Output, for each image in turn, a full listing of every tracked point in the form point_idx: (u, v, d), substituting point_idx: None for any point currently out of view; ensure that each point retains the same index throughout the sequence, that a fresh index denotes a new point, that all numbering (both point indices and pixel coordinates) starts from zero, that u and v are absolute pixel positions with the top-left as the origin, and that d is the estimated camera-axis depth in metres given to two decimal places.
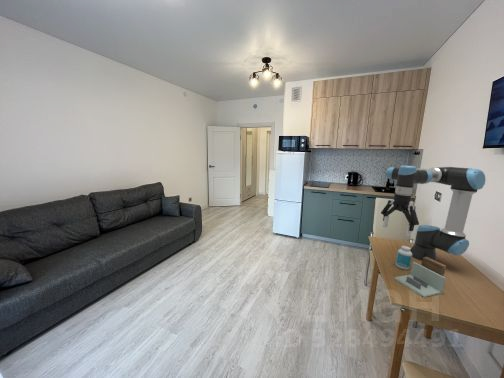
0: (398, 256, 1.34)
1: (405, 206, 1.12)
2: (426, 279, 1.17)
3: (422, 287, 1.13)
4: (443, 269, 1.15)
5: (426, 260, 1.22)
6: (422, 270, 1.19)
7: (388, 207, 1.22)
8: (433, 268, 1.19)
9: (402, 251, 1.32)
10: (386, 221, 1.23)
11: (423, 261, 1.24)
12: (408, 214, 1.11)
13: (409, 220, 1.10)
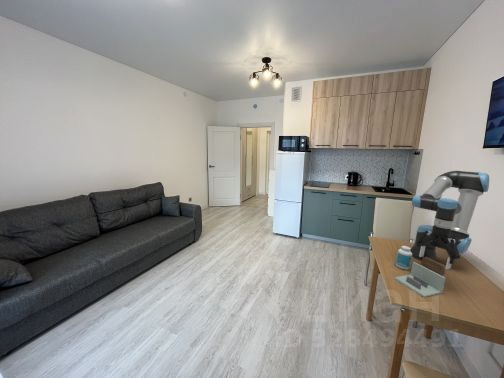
0: (398, 256, 1.34)
1: (445, 239, 1.14)
2: (426, 279, 1.17)
3: (422, 287, 1.13)
4: (443, 269, 1.15)
5: (426, 260, 1.22)
6: (422, 270, 1.19)
7: (425, 237, 1.24)
8: (433, 268, 1.19)
9: (402, 251, 1.32)
10: (422, 251, 1.25)
11: (423, 261, 1.24)
12: (448, 247, 1.13)
13: (450, 253, 1.11)
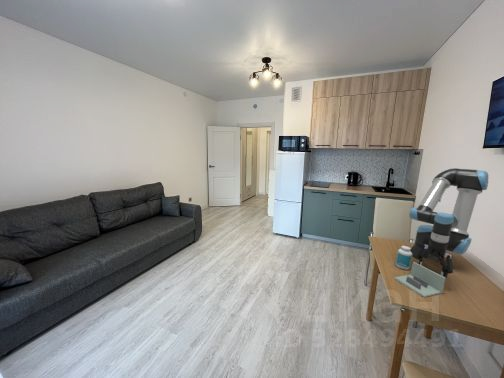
0: (398, 256, 1.34)
1: (442, 253, 1.15)
2: (426, 279, 1.17)
3: (422, 287, 1.13)
4: None
5: (426, 260, 1.22)
6: (422, 270, 1.19)
7: (423, 251, 1.25)
8: (433, 268, 1.19)
9: (402, 251, 1.32)
10: None
11: (423, 261, 1.24)
12: (443, 261, 1.15)
13: (443, 268, 1.14)
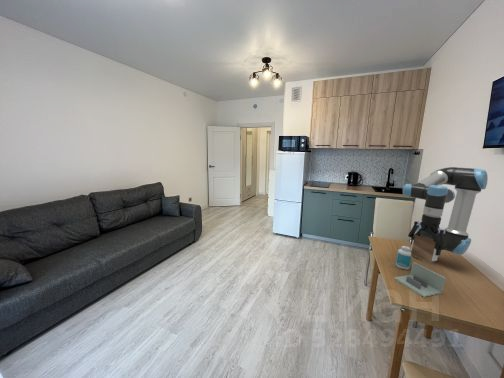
0: (398, 256, 1.34)
1: (435, 228, 1.06)
2: (426, 279, 1.17)
3: (422, 287, 1.13)
4: None
5: (418, 237, 1.13)
6: (422, 270, 1.19)
7: (415, 229, 1.16)
8: (426, 245, 1.10)
9: (402, 251, 1.32)
10: None
11: (415, 239, 1.15)
12: (436, 237, 1.06)
13: (437, 244, 1.05)
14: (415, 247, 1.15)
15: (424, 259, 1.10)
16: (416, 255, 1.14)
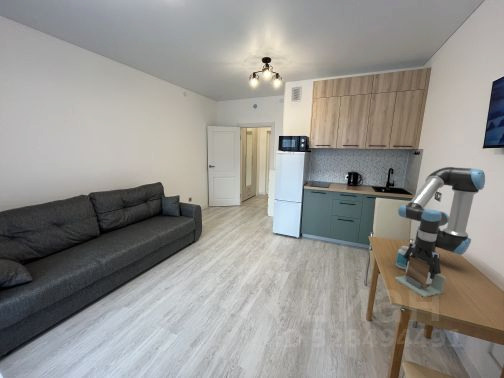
0: (398, 256, 1.34)
1: (429, 252, 1.08)
2: None
3: (422, 287, 1.13)
4: None
5: (413, 260, 1.15)
6: None
7: (410, 251, 1.18)
8: (420, 268, 1.12)
9: (402, 251, 1.32)
10: None
11: (410, 261, 1.17)
12: (431, 261, 1.09)
13: (431, 268, 1.07)
14: (410, 269, 1.17)
15: (419, 281, 1.13)
16: (411, 277, 1.17)
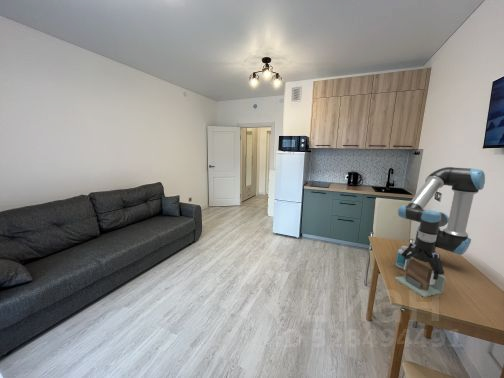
0: (398, 256, 1.34)
1: (429, 253, 1.08)
2: None
3: None
4: (430, 272, 1.09)
5: (412, 263, 1.16)
6: None
7: (409, 250, 1.19)
8: (420, 271, 1.12)
9: (402, 251, 1.32)
10: (407, 264, 1.20)
11: (409, 264, 1.17)
12: (432, 261, 1.08)
13: (433, 268, 1.06)
14: (409, 272, 1.17)
15: None
16: None
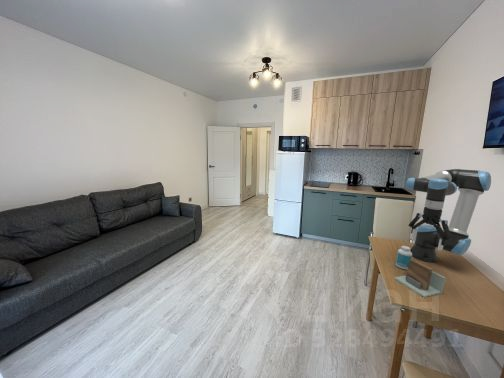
0: (398, 256, 1.34)
1: (436, 220, 1.11)
2: None
3: None
4: (430, 272, 1.09)
5: (412, 263, 1.16)
6: None
7: (416, 220, 1.21)
8: (420, 271, 1.12)
9: (402, 251, 1.32)
10: (414, 234, 1.22)
11: (409, 264, 1.17)
12: (440, 228, 1.10)
13: (441, 234, 1.09)
14: (409, 272, 1.17)
15: None
16: None
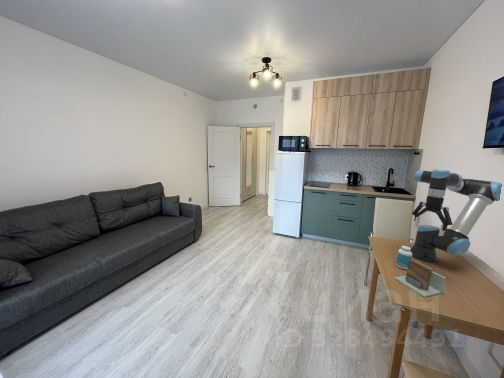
0: (398, 256, 1.34)
1: (438, 207, 1.19)
2: None
3: None
4: (430, 272, 1.09)
5: (412, 263, 1.16)
6: None
7: (419, 208, 1.30)
8: (420, 271, 1.12)
9: (402, 251, 1.32)
10: (417, 221, 1.31)
11: (409, 264, 1.17)
12: (441, 215, 1.19)
13: (442, 220, 1.17)
14: (409, 272, 1.17)
15: None
16: None
